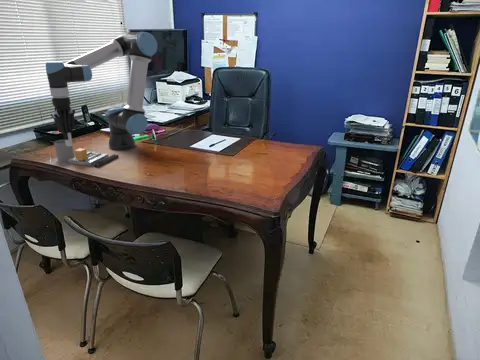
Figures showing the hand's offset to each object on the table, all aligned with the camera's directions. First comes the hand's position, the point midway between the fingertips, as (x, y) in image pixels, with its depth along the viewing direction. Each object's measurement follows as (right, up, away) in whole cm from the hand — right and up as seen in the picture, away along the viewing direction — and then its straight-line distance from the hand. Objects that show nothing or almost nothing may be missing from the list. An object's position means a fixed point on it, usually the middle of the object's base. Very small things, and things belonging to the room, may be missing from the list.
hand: (69, 145), depth 168 cm
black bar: (+13, -7, +13) cm, 19 cm away
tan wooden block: (+2, -6, +9) cm, 11 cm away
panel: (+3, -6, +14) cm, 16 cm away
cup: (-10, -6, +16) cm, 19 cm away
